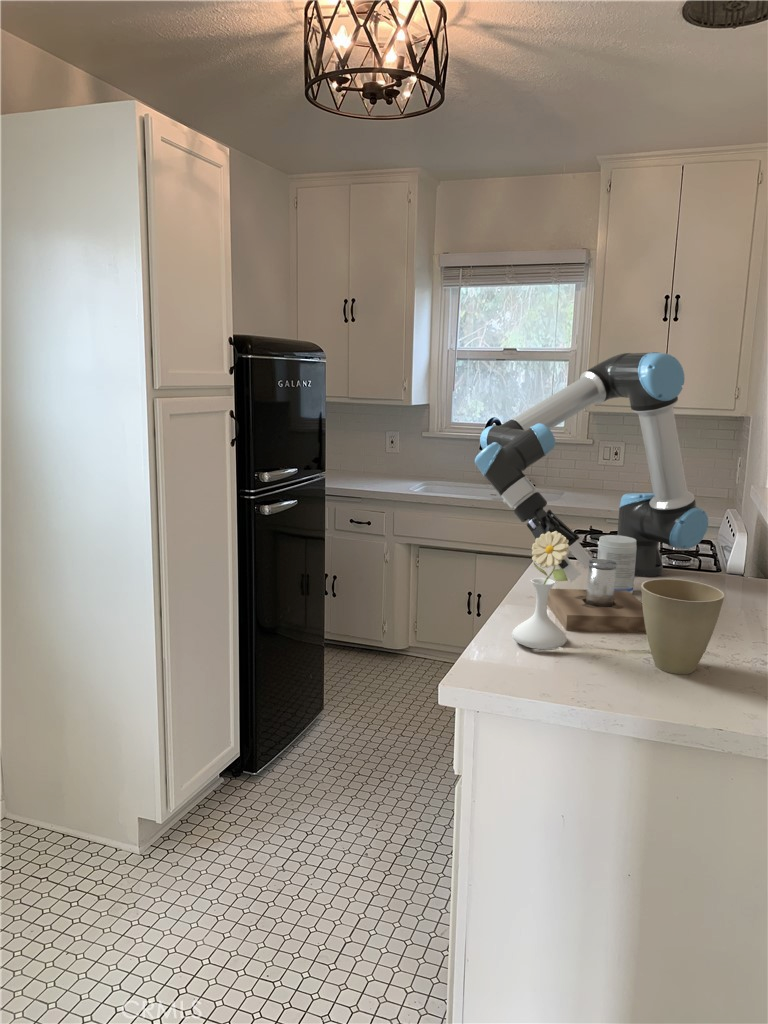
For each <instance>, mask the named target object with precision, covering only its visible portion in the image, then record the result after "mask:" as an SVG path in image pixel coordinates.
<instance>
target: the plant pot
mask: <svg viewBox="0 0 768 1024" xmlns="http://www.w3.org/2000/svg"><path fill="white" fill-rule="evenodd" d="M724 598H725V593H724V592H723V591H722V590H720V588H717V587H714V586H713V585H710V584H705V583H703V582H698V581H692V580H685V579H679V578H656V579H653V578H652V579H649V580H646V581H643V582H642V583H641V603H642V605H643V615H644V622H645V628H646V633H645V634H646V638H647V642H648V646H649V649H650V654H651V656H652V660H653V663H654V665H655V667H656V668H657V669H659V670H660V671H663V672H666V673H671V674H675V675H687V674H688V675H689V674H692V673H694V672H695V670H696V669H697V667H698V665H699V664H700V662H701V660H702V658H703V655H704V654H705V651H706V650H707V647H708V645H709V644H710V641H711V639H712V637H713V633H714V631H715V629H716V625H717V623H718V619H719V617H720V613H721V610H722V605H723V603H724Z"/></svg>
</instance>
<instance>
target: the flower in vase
mask: <svg viewBox="0 0 768 1024" xmlns="http://www.w3.org/2000/svg"><path fill="white" fill-rule="evenodd" d="M568 542H569V541H568V540H567V539H566V537H564V536H563V535H561V533H558V532H557V531H554V532H552V533H551V532H547V533H546V534H541V535H540V537H539V538H536V539H535V542H534V543H532V547H531V555H532V557H531V560H532V561H533V566H534V568H536V569H537V571H539V572H541V574H544V575H545V576H547V577H535V578H532V579H530V582H531V584H532V585H533V587H534V591H535V610H534V612H533V615H532V616H530V617H528V619H526V620H524V621H522V622H521V623H519V624H517V626H515V628H513V630H512V631H511V637H512V639H513V640H514V641H515V642H516V643H518V644H519V645H522V646H523V647H527V648H531V649H537V650H552V649H553V650H554V649H558V648H561V647H562V646H564V645H565V644H566V643H567V641H568V638H567V635H566V633H565V632H564V631H563V630H562V629H561V627H559V626H558V625H557V624H556V623H555V622H554V621H553V620H552V619H550V617H549V615H548V611H547V608H548V605H547V600H548V595H549V592H550V590H551V589H553V587H554V586H555V584H557V583H556V582H566V581H567V582H568V581H569V579H568V578H567V576H566V574H565V572H564V570H563V569H560V568H557V569H556V567H558V565H559V564H560V563H561V562H562V561H561V560H564V559H565V556H567V555H568V554H569V553H570V550H569V549H568V547H569V545H568ZM538 565H539V566H538ZM550 567H552V570H551V571H550V573H549V574H547V572H546V571H545V570H544V569H545V568H547V569H549V568H550ZM552 575H553V578H554V580H553V579H551V578H550V577H551V576H552Z"/></svg>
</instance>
